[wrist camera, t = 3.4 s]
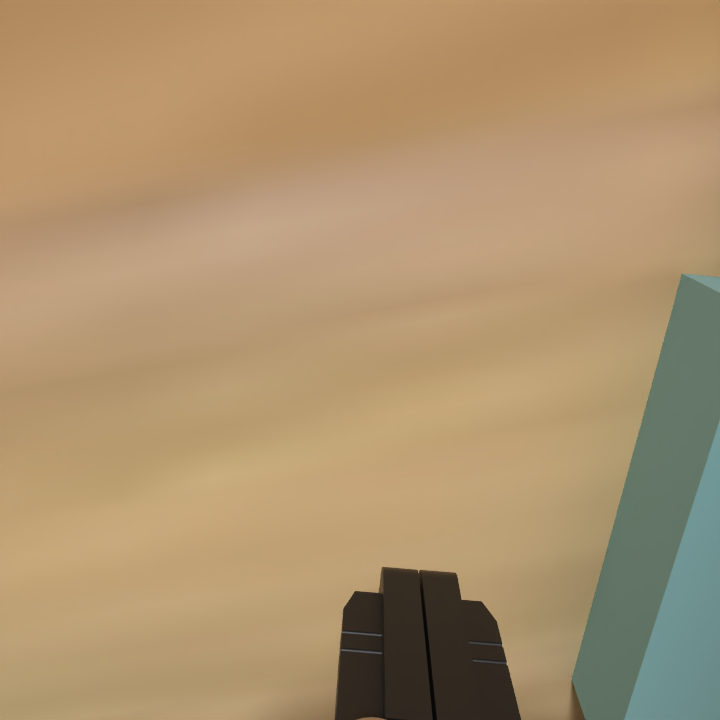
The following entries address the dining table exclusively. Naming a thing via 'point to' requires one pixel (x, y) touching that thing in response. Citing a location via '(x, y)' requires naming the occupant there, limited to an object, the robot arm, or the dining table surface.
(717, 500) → the teal T block
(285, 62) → the dining table surface
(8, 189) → the dining table surface
